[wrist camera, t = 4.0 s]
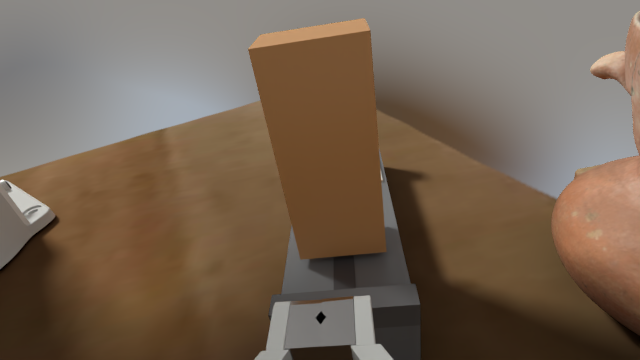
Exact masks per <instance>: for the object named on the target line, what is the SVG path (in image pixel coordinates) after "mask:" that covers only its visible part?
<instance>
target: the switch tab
mask: <svg viewBox="0 0 640 360" xmlns="http://www.w3.org/2000/svg"><path fill="white" fill-rule="evenodd" d="M248 51H249V55H250V59H251V63H252V67H253V71H254V75H255V79H256V83H257V87H258V91H259V95H260V99H261V103H262V107H263V111H264V115H265V119H266V123H267V127H268V131H269V135H270V139H271V143H272V147H273V151H274V155H275V159H276V163H277V167H278V171H279V175H280V179H281V183H282V188H283V192H284V196H285V200H286V204H287V208H288V212H289V216H290V220H291V224H292V228H293V232H294V236H295V240H296V244H297V248H298V252H299V256H300V260H302V259H313V258H324V257H336V256H347V255H358V254H369V253H380V252H386V239H385V225H384V211H383V197H382V184H381V170H380V156H379V143H378V129H377V115H376V102H375V89H374V74H373V61H372V47H371V33H370V29H369V26H368V24H367V22H366V20H365V19H364V18H363V19H356V20H350V21H344V22H337V23H331V24H325V25H318V26H312V27H306V28H299V29H293V30H287V31H280V32H274V33H268V34H262V35H260V36H259V37H258V38H257V39H256V41H255V42H254V43H253V44H252V45H251V46H250V48H249V49H248Z"/></svg>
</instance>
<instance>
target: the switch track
mask: <svg viewBox="0 0 640 360" xmlns="http://www.w3.org/2000/svg"><path fill="white" fill-rule="evenodd" d="M379 156H380V170H381V184H382V197H383V211H384V225H385V239H386V252H380V253H369V254H358V255H347V256H336V257H324V258H313V259H302V260H300V256H299V252H298V248H297V244H296V240H295V236H294V232H293V228H292V227H291V233H290V240H289V247H288V253H287V260H286V267H285V273H284V280H283V287H282V294H278V295H272V298H271V304H270V309H269V315H268V316H269V319H270V321H271V317H272V311H273V306H274V304H275V302H285V301H303V300H322V299H327V298H338V297H350V296H367V295H370V297H371V304H372V313H373V322H374V331H375V341H376V344H381V345H382V346H383V347H384V349H385V350H386V351H387V352H388V353H389V355H390V356H391V357H392V358H393V360H421V332H420V301H419V297H418V293H417V289H416V285H415V284H411V283H410V278H409V274H408V270H407V265H406V261H405V257H404V253H403V248H402V244H401V240H400V236H399V231H398V227H397V223H396V218H395V214H394V210H393V206H392V201H391V197H390V193H389V188H388V184H387V180H386V176H385V171H384V167H383V163H382V158H381V154H380V150H379Z"/></svg>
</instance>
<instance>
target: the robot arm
mask: <svg viewBox="0 0 640 360" xmlns="http://www.w3.org/2000/svg"><path fill="white" fill-rule="evenodd" d="M54 218H55V213H54V212H53V211H52V210H51V209H50V208H49V207H48V206H46V205H45V204H43V203H41V202H40V201H38V200H37V199H35V198H34V197H32V196H31V195H29V194H27V193H26V192H24V191H23V190H21V189H20V188H18V187H17V186H15V185H13V184H12V183H10V182H8V181H4V180H0V269H1V268H2V267H3V266H4V265H6V264H7V263H8V262H9V261H10V260H11V259H12V258H13V257H14V256H15V255H16V254H17V253H18V252H19V251H20V249H21V248H22V247H23V246H24V245H25V243H26V242H27V241H28V240H29V239H30V238H31V237H32V236H33V235H34V234H35V233H37V232H38V231H39V230H41V229H42V228H43V227H45V226H46V225H47V224H48V223H50V222H51V221H52V220H53V219H54ZM254 360H393V358H392V357H391V356H390V355H389V353H388V352H387V351H386V350H385V349H384V347H383V346H382V345H381V344H376V341H375V331H374V322H373V313H372V304H371V297H370V295H367V296H350V297H338V298H327V299H322V300H303V301H285V302H275V304H274V306H273V311H272V317H271V323H270V329H269V334H268V340H267V346H266V351H261V352H260V353H259V354H258V356H257V357H256V358H255V359H254Z"/></svg>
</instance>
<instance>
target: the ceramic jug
mask: <svg viewBox="0 0 640 360" xmlns="http://www.w3.org/2000/svg"><path fill="white" fill-rule="evenodd" d="M590 71H591V73H592V74H593V75H594V76H596V77H599V78H602V79H609V78H611V79H615V80H617V81H618V82H620V84H621V85H622V86H623V87H624V88H625V89H626V90H627V92H628V93H629V94H630V95H631V96H632V99H631V100H632V110H633V111H632V116H633V134H634V139H635V144H636V147H637V150H638V153H639V156H633V157H628V158H623V159H619V160H615V161H611V162H608V163H605V164H602V165H597V166H593V167H587V168H582V169H578V170H577V171H576V172H575V177H574V180H573V181H572V182H571V183H570V184H569V185H568V186H567V187H566V188H565V189H564V190H563V192H562V193H561V194H560V196H559V197H558V199H557V201H556V204H555V206H554V209H553V213H552V221H551V228H552V235H553V240H554V243H555V247H556V250H557V252H558V255H559V257H560V259H561V261H562V263H563V265H564V266H565V268H566V270H567V271H568V273H569V274H570V276H571V277H572V279H573V280H574V281H575V282H576V284H577V285H578V286H579V287H580V288H581V289H582V291H583V292H584V293H585V294H586V295H587V296H588V297H589V298H590V299H591V300H592V301H593V302H595V303H596V304H597V305H598V306H599V307H600V308H602V309H603V310H604V311H605V312H606V313H608V314H609V315H610V316H611V317H613V318H614V319H616V320H617V321H618V322H620V323H621V324H622V325H624V326H625V327H627V328H628V329H630V330H631V331H633V332H634V333H636V334H637V335H639V336H640V11H639V12H637V13H636V14H635V15H634V17H633V19H632V21H631V24H630V28H629V31H628V35H627V39H626V47H625V51H620V52H614V53H611V54H608V55H605V56H603V57H602V58H600V59H599V60H598V61H596V63H594V64H593V65H592V67H591V70H590Z"/></svg>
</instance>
